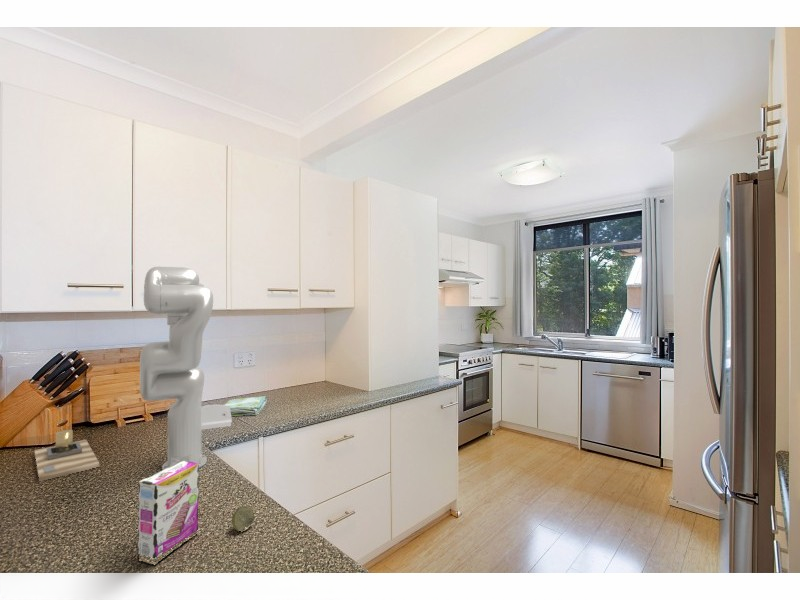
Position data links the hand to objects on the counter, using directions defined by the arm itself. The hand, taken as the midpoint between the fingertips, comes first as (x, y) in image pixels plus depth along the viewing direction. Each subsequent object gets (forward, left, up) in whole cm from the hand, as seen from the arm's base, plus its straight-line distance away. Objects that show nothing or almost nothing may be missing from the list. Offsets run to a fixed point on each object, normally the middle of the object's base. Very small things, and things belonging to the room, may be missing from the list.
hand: (178, 364), depth 150 cm
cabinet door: (-15, +30, -28) cm, 44 cm away
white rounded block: (+11, -9, -29) cm, 32 cm away
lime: (-72, -33, -29) cm, 84 cm away
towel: (+32, -19, -29) cm, 47 cm away
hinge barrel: (-12, +32, -27) cm, 43 cm away
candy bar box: (-75, -19, -28) cm, 82 cm away
